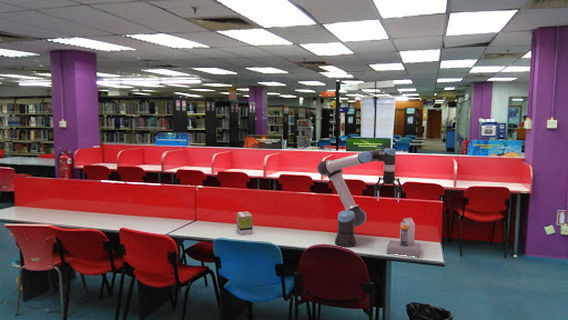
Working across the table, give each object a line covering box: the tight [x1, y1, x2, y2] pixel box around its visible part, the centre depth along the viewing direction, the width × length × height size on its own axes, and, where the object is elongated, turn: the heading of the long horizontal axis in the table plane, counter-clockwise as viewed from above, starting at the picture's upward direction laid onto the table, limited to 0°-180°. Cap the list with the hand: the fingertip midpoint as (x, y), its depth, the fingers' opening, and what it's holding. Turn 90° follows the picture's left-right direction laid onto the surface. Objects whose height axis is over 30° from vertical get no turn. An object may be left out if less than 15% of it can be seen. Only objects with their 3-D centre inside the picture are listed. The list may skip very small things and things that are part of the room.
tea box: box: [236, 211, 254, 236], centre depth 304 cm, size 15×10×15 cm
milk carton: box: [399, 217, 416, 243], centre depth 279 cm, size 7×7×19 cm
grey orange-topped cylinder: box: [399, 224, 409, 246], centre depth 262 cm, size 6×6×18 cm
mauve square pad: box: [386, 239, 421, 258], centre depth 262 cm, size 20×20×6 cm
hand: (388, 201), depth 268 cm, fingers open, 13 cm apart
